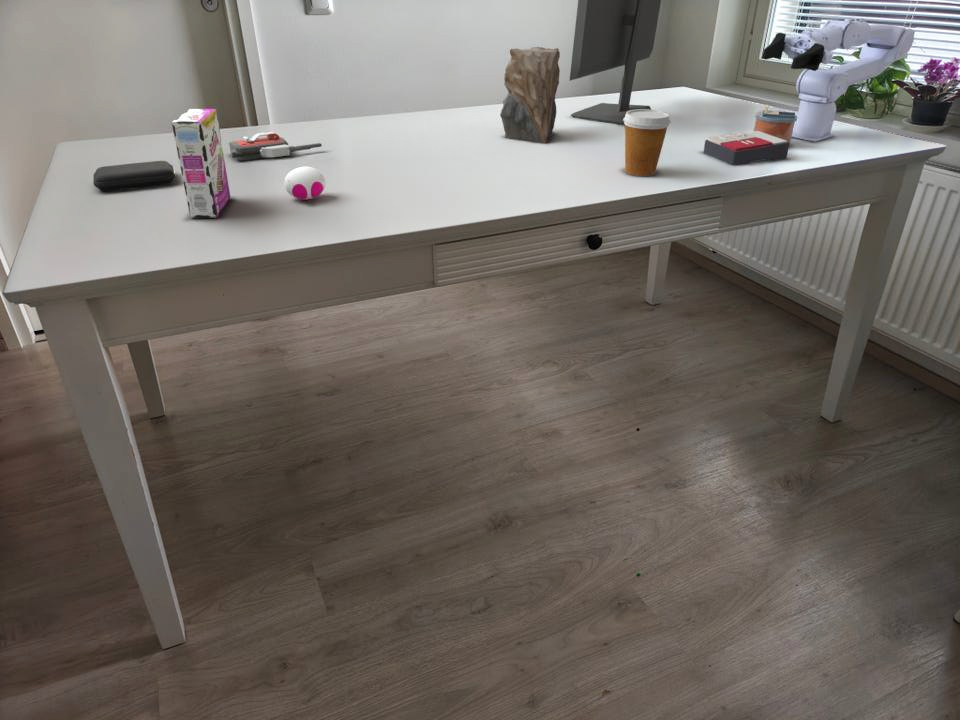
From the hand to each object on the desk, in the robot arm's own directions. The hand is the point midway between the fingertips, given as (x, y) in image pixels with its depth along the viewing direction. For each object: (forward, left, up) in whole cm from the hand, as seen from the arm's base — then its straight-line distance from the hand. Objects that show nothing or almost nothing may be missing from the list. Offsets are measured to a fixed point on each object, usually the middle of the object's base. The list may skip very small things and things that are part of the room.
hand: (778, 59), depth 156 cm
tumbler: (-6, -1, -20) cm, 21 cm away
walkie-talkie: (+93, -65, -20) cm, 115 cm away
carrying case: (+124, -62, -20) cm, 140 cm away
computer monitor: (+2, -45, -20) cm, 49 cm away
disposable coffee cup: (+38, -5, -20) cm, 43 cm away
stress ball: (+102, -32, -20) cm, 109 cm away
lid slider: (-5, -2, -13) cm, 14 cm away
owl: (+36, -41, -20) cm, 58 cm away
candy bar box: (+118, -38, -20) cm, 125 cm away
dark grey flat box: (+9, +2, -20) cm, 22 cm away
